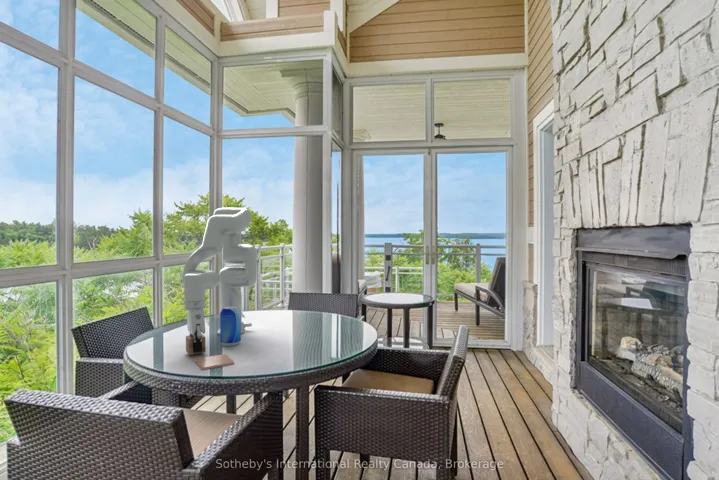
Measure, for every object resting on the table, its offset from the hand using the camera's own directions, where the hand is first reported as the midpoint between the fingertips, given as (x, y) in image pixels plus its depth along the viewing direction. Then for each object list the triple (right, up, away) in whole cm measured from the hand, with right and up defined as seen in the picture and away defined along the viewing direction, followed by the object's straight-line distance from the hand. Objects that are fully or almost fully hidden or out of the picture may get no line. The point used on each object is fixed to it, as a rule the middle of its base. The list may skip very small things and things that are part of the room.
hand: (195, 349), depth 151 cm
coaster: (+11, -2, -10) cm, 15 cm away
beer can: (+9, -2, +14) cm, 17 cm away
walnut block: (0, -1, 0) cm, 1 cm away
